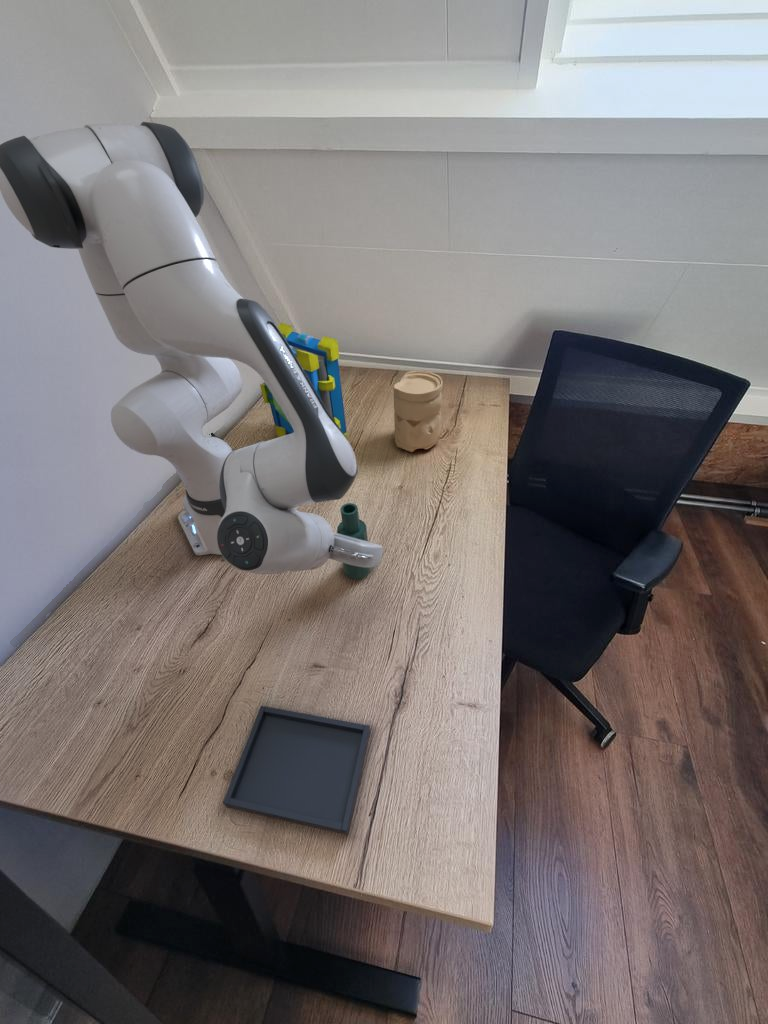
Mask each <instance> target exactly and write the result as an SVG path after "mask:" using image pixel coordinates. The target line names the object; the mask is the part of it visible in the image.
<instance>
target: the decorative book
mask: <svg viewBox="0 0 768 1024" xmlns="http://www.w3.org/2000/svg"><path fill="white" fill-rule="evenodd" d="M277 327H278V328H279V330H280V331H281V333H282V335H283V336H284V338H285V339H286V341H287V343H288V344H289V346H290V348H291V349H292V351H293V353H294V354H295V356H296V358H297V360H298V361H299V363H300V365H301V366H302V368H303V370H304V372H305V373H306V375H307V377H308V378H309V380H310V382H311V384H312V385H313V387H314V389H315V390H316V392H317V394H318V396H319V397H320V399H321V401H322V403H323V404H324V406H325V408H326V409H327V411H328V413H329V414H330V416H331V417H332V418H333V420H334V421H335V422H336V424H337V425H338V426H339V428H340V429H341V430H342V432H343V433H344V435H345V436H346V438H347V439H348V440H349V433H348V431H347V423H346V416H345V407H344V399H343V391H342V383H341V373H340V366H339V365H340V364H339V359H340V349H339V343H338V339H335V338H332V337H329V336H327V335H324V336H323V337H322V338H321V339H318V338H315V337H314V336H312V335H309V334H307V333H302V332H301V333H299V332H295V331H294V329H293V325H290V324H287V323H283V322H280V323H279V324H278V325H277ZM259 387H260V391H261V394H262V398H263V402H264V404H269V408H270V411H271V415H272V419H273V423H274V429H275V433H276V438H278V437H281V436H284V435H288V434H291V433H293V432H294V430H293V428H292V426H291V424H290V423H289V421H288V419H287V418H286V416H285V414H284V413H283V411H282V410H281V408H280V406H279V405H278V403H277V401H276V400H275V398H274V397H273V395H272V393H271V392H270V390H269V388H268V387H267V385H266V384H265V382H264V381H263V383H261V384H259Z"/></svg>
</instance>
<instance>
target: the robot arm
mask: <svg viewBox="0 0 768 1024" xmlns="http://www.w3.org/2000/svg"><path fill="white" fill-rule="evenodd" d="M198 165H199V164H198V163H197V160H196V157H195V155H194V153H193V151H192V149H191V147H190V146H189V144H188V142H187V141H186V140H185V139H184V137H183V136H182V135H181V134H180V133H179V131H177V129H175V128H174V127H172V126H169V125H166V124H162V123H157V122H148V121H142V122H141V123H140V124H132V123H130V124H129V123H97V124H95V123H94V124H85V125H84V126H83V127H77V128H69V129H64V130H58V131H54V132H50V133H45V134H41V135H38V136H34V137H31V138H28V137H27V136H25V135H21V136H19V137H18V136H17V137H14V138H12V139H9V140H6V141H4V142H2V143H1V144H0V193H1V196H2V198H3V200H4V203H5V204H6V206H7V208H8V209H9V211H10V212H11V214H12V215H13V216H14V218H15V219H16V221H18V223H20V225H22V227H24V228H25V229H26V230H27V231H28V232H29V233H30V235H31V236H32V237H33V239H35V240H36V241H38V242H40V243H42V244H44V245H46V246H48V247H50V248H56V249H66V250H67V249H69V250H70V249H71V250H78V253H79V257H80V259H81V261H82V265H83V266H84V269H85V272H86V275H87V277H88V279H89V282H90V284H91V286H92V288H93V291H94V293H95V295H96V297H97V299H98V302H99V304H100V306H101V308H102V311H103V312H104V314H105V317H106V318H107V321H108V323H109V325H110V327H111V329H112V331H113V334H114V335H115V338H116V339H117V340H118V342H119V343H121V344H122V345H123V346H124V347H125V348H126V349H128V350H130V351H132V352H134V353H137V354H141V355H146V356H147V355H148V356H154V357H155V359H156V360H157V361H158V363H159V366H160V368H161V371H160V372H159V373H158V374H157V375H155V376H153V377H151V378H149V379H147V380H146V381H143V382H141V384H139V385H137V386H135V387H133V388H131V389H130V390H129V391H127V393H126V394H124V396H122V397H121V398H120V399H119V400H118V401H117V402H116V403H115V404H114V405H113V406H112V407H111V410H110V411H111V412H110V422H111V426H112V429H113V431H114V433H115V435H116V436H117V438H118V439H119V440H120V441H121V442H122V444H123V445H125V446H126V447H127V448H129V449H130V450H132V451H134V452H136V453H138V454H142V455H147V456H155V457H160V458H163V459H165V460H167V461H168V462H169V463H170V464H171V465H172V466H173V468H174V469H175V471H176V473H177V475H178V476H179V478H180V480H181V482H182V484H183V486H184V488H185V496H184V497H183V499H182V501H181V503H182V507H183V509H182V511H181V512H180V513H179V514H178V516H177V519H178V522H179V525H180V527H181V528H182V530H183V532H184V534H185V537H186V538H187V541H188V543H189V545H190V547H191V549H192V551H193V553H194V555H195V556H206V555H219V556H222V557H223V559H224V560H225V561H226V562H227V563H228V564H229V565H231V566H232V567H234V569H237V570H239V571H241V572H244V573H249V574H254V575H277V574H284V573H287V572H291V573H292V572H296V573H297V572H303V571H311V570H316V569H319V568H320V567H322V566H324V565H325V564H327V562H328V561H329V559H330V560H332V561H336V562H339V563H342V564H343V563H346V564H349V565H353V566H358V567H370V568H378V567H379V566H380V565H381V561H382V558H383V553H384V547H383V546H382V545H380V544H377V543H374V542H372V541H369V540H368V541H364V540H360V539H357V538H353V537H350V536H346V535H342V534H339V533H337V532H335V531H333V528H332V526H331V525H330V523H329V522H328V520H327V519H325V518H324V517H323V516H321V515H320V514H317V513H314V512H307V511H300V510H298V509H297V508H298V507H301V506H305V505H309V504H312V503H313V504H314V503H317V504H318V503H324V502H329V501H338V500H341V499H342V498H343V497H345V495H346V494H347V493H348V492H349V490H350V489H351V487H352V485H353V484H354V482H355V480H356V477H357V475H358V469H359V468H358V461H357V457H356V454H355V451H354V449H353V446H352V444H351V443H350V441H349V438H348V439H347V438H346V436H345V435H344V433H343V432H342V430H341V429H340V428H339V426H338V425H337V424H336V422H335V421H334V420H333V418H332V417H331V416H330V414H329V413H328V411H327V409H326V408H325V406H324V404H323V403H322V401H321V399H320V397H319V396H318V394H317V392H316V390H315V389H314V387H313V385H312V384H311V382H310V380H309V378H308V377H307V375H306V373H305V372H304V370H303V368H302V366H301V365H300V363H299V361H298V360H297V358H296V356H295V354H294V353H293V351H292V349H291V348H290V346H289V344H288V343H287V341H286V339H285V338H284V336H283V335H282V333H281V331H280V330H279V328H278V325H277V324H276V322H275V321H274V320H273V318H272V317H271V315H270V314H269V313H268V311H266V309H265V308H264V307H263V306H262V305H261V304H260V303H259V302H257V301H256V300H252V299H247V298H244V297H243V296H242V295H240V293H238V291H236V289H234V287H233V286H232V285H231V284H230V282H229V281H228V279H227V278H226V277H225V275H224V274H223V272H222V270H221V268H220V265H219V264H218V262H217V258H216V256H215V255H214V252H213V250H212V248H211V245H210V243H209V240H208V239H207V237H206V235H205V233H204V231H203V229H202V227H201V225H200V223H199V222H198V220H197V217H198V216H199V214H200V212H201V210H202V207H203V205H204V201H205V192H204V184H203V179H202V176H201V171H200V169H199V166H198ZM234 361H237V362H239V363H242V364H245V365H247V366H248V367H250V368H251V369H252V370H254V371H255V372H256V373H257V374H258V375H259V377H260V378H261V379H262V381H263V383H264V382H265V384H266V385H267V387H268V388H269V390H270V392H271V393H272V395H273V397H274V398H275V400H276V401H277V403H278V405H279V406H280V408H281V410H282V411H283V413H284V414H285V416H286V418H287V419H288V421H289V423H290V424H291V426H292V428H293V430H294V432H293V433H291V434H288V435H284V436H281V437H278V438H277V437H275V438H272V439H268V440H266V441H264V440H263V441H259V442H257V443H254V444H250V445H247V446H244V447H241V448H238V449H234V450H233V448H232V447H231V446H230V444H228V443H227V442H226V441H224V440H223V439H221V438H219V437H217V435H215V433H214V432H212V433H211V435H210V434H209V435H204V434H203V427H204V426H205V425H206V424H208V423H209V422H211V421H212V420H213V419H215V418H216V417H217V416H218V415H220V414H221V413H223V412H224V411H225V410H227V409H228V408H229V407H231V405H232V404H233V402H234V401H236V399H237V398H238V397H239V395H240V394H241V392H242V390H243V379H242V374H241V372H240V371H239V368H238V367H237V365H236V364H235V363H234Z"/></svg>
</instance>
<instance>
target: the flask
mask: <svg viewBox="0 0 768 1024" xmlns="http://www.w3.org/2000/svg"><path fill="white" fill-rule="evenodd" d="M359 515H360V514H359V507H358V505H356V503H352V502H348V503H345V504H343V505H342V506H340V517H341V522H339V524H338V525H337V528H336V533H339V534H342V535H346V536H350V537H353V538H357V539H360V540H364V541H368V542H369V540H368V539H369V538H368V531H367V525H366V523H365V521H363V520H362V519H360V516H359ZM342 568H343V569H342V570H343V572H344V575H345V576H346V577H347V578H348V579H350V580H353V581H354V580H355V581H356V580H363V579H364V578H366V577H367V576H368V575H369V574H370V573H371V567H358V566H353V565H349V564H346V563H342Z"/></svg>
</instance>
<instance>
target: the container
mask: <svg viewBox="0 0 768 1024" xmlns="http://www.w3.org/2000/svg"><path fill="white" fill-rule="evenodd" d="M443 386H444V384H443V378H442V377H441V376H440V375H439V374H437V373H434V372H431V371H423V370H410V371H407V372H405V374H404V375H403V376H402V377H400V380H399V381H398V382H396V383H394V385H393V388H392V391H393V410H394V413H393V414H394V415H393V421H394V443H395V445H396V447H397V448H400V449H402V450H405V451H406V452H409V453H413V452H414V451H417V450H418V449H424V450H429V449H431V448H433V446H434V445H436V444H437V443H438V441H440V437H441V432H442V431H441V428H442V410H441V409H442V406H443V405H442V404H443V393H442V391H443Z"/></svg>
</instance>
